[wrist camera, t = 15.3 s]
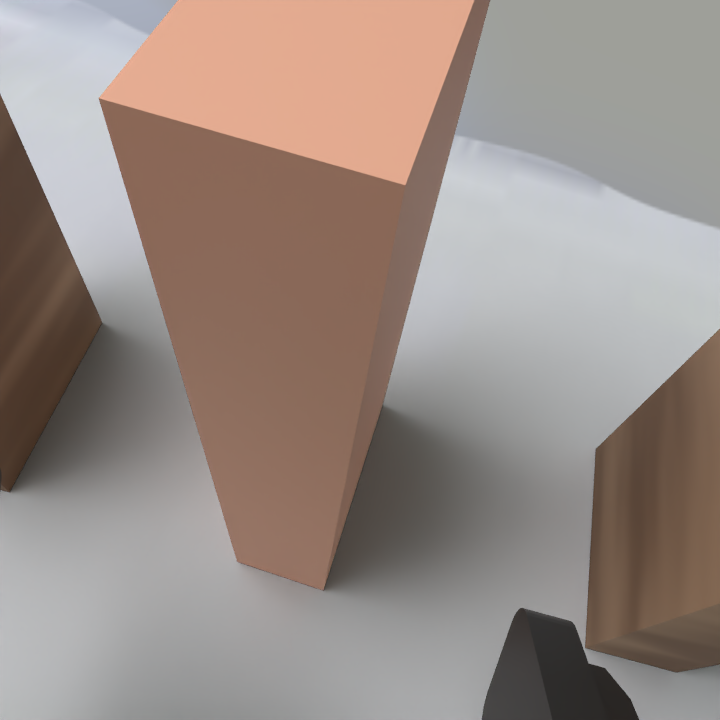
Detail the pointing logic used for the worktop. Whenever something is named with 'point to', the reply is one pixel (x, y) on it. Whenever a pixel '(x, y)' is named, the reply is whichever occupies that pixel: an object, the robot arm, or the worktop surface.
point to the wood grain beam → (34, 307)
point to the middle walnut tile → (660, 526)
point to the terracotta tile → (289, 233)
